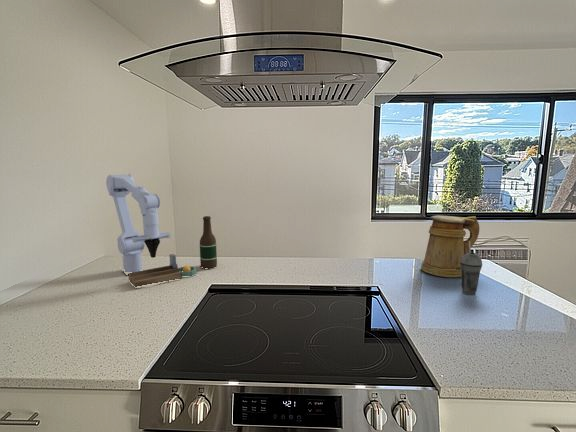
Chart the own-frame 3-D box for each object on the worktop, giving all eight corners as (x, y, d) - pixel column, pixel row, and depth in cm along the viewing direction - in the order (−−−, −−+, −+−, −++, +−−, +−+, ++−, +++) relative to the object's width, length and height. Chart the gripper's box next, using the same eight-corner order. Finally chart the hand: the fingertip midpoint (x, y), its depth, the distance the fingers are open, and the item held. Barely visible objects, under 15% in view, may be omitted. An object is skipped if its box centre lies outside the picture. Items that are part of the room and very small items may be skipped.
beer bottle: (197, 268, 162) (194, 217, 158) (205, 263, 169) (203, 214, 165) (212, 270, 160) (210, 218, 156) (220, 265, 167) (218, 215, 163)
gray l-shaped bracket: (169, 269, 151) (169, 254, 150) (174, 268, 152) (173, 253, 151) (173, 271, 148) (172, 256, 147) (177, 270, 149) (176, 255, 148)
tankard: (414, 265, 165) (417, 213, 161) (464, 265, 165) (468, 212, 161) (430, 278, 147) (434, 220, 143) (486, 278, 147) (491, 219, 143)
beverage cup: (482, 297, 126) (487, 243, 123) (460, 296, 128) (465, 243, 125) (476, 290, 133) (480, 239, 130) (455, 289, 135) (459, 238, 132)
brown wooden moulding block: (129, 282, 144) (128, 272, 143) (172, 273, 155) (171, 263, 154) (135, 289, 136) (134, 278, 136) (180, 279, 147) (180, 269, 146)
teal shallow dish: (173, 274, 154) (173, 268, 154) (191, 270, 159) (191, 265, 159) (180, 279, 148) (180, 273, 148) (199, 275, 153) (198, 269, 153)
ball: (186, 263, 155) (190, 269, 156) (179, 267, 153) (183, 273, 155) (189, 265, 152) (193, 271, 154) (182, 269, 151) (186, 276, 152)
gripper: (134, 228, 134) (137, 262, 136) (172, 223, 143) (173, 256, 145) (129, 225, 140) (132, 258, 142) (166, 221, 148) (168, 252, 151)
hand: (153, 257), depth 144 cm, fingers closed
